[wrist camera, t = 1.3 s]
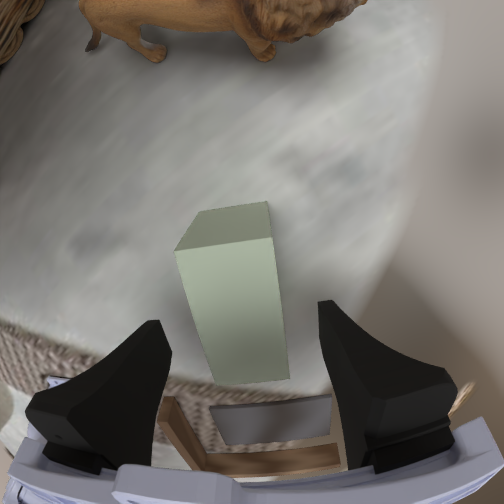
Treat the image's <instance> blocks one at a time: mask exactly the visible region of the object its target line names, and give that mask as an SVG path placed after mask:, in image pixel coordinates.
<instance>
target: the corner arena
mask: <svg viewBox="0 0 504 504" xmlns="http://www.w3.org/2000/svg"><path fill="white" fill-rule="evenodd" d="M331 406H332V395H331V394H327V395H321V396H315V397H308V398H301V399H294V400H286V401H277V402H267V403H256V404H243V405H226V406H210V407H209V410H210V412H211V415H212V417H213V419H214V421H215V423H216V425H217V428H218V430H219V432H220V434H221V436H222V438H223V440H224V442H225V444H226V445H238V444H257V443H270V442H281V441H290V440H298V439H306V438H313V437H319V436H325V435H329V434H330V422H331ZM157 423H158V424H159V426H160V427H161V428H162V430H163V431H164V433H165V434H166V436H167V437H168V438H169V440H170V441H171V443H172V444H173V445H174V447H175V448H176V449H177V451H178V452H179V453H180V455H181V456H182V457H183V459H184V460H185V461H186V462H187V464H188V465H189V466H190V468H191V469H192V470H195V471H206V472H214V473H219V474H222V475H226V476H229V477H231V478H245V477H266V476H279V475H290V474H299V473H306V472H313V471H320V470H326V469H332V468H337V467H340V465H341V463H340V457H339V452H338V447H337V443H331V444H326V445H320V446H314V447H307V448H299V449H291V450H281V451H270V452H256V453H233V454H207V453H206V452H205V450H204V448H203V447H202V445H201V444H200V442H199V440H198V439H197V437H196V435H195V434H194V432H193V430H192V428H191V427H190V425H189V423H188V422H187V420H186V418H185V416H184V414H183V413H182V411H181V409H180V407H179V405H178V403H177V402H176V400H175V398H174V397H164V398H163V402H162V405H161V409H160V412H159V416H158V419H157Z"/></svg>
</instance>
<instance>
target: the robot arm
mask: <svg viewBox="0 0 504 504" xmlns="http://www.w3.org/2000/svg"><path fill="white" fill-rule="evenodd" d="M318 315H319V339H320V344H321V349H322V354H323V358H324V361H325V364H326V367H327V370H328V373H329V376H330V379H331V382H332V385H333V388H334V391H335V395H336V398H337V402H338V407H339V412H340V417H341V423H342V429H343V435H344V441H345V448H346V456H347V463H348V471H344V472H339V473H334V474H328V475H322V476H315V477H308V478H301V479H292V480H282V481H267V482H244V483H238V482H237V481H235V480H234V479H232V478H231V477H229V476H226V475H222V474H219V473H214V472H206V471H195V470H180V469H169V468H159V467H151V456H152V443H153V434H154V427H155V421H156V415H157V410H158V407H159V403H160V400H161V397H162V393H163V390H164V387H165V384H166V381H167V377H168V374H169V370H170V365H171V358H172V350H171V348H170V346H169V343H168V341H167V338H166V336H165V333H164V331H163V328H162V325H161V323H160V320H148V321H146V322H145V323H144V324H143V325H141V326H140V327H139V328H138V329H137V330H136V331H135V332H134V333H132V334H131V335H130V336H129V337H128V338H127V339H126V340H125V341H124V342H123V343H122V344H120V345H119V346H118V347H117V348H116V349H115V350H113V351H112V352H111V353H110V354H109V355H107V356H106V357H105V358H104V359H102V360H101V361H100V362H98V363H97V364H95V365H94V366H93V367H91V368H90V369H88V370H86V371H85V372H83V373H81V374H79V375H78V376H76V377H74V378H72V379H65V378H57V377H50V376H49V377H48V378H47V381H48V382H49V384H50V387H49V388H48V389H46V390H43V391H40V392H37V393H35V395H34V396H33V398H32V400H31V401H30V403H29V405H28V406H27V408H26V410H25V414H26V417H27V419H28V420H29V424H28V437H25V438H24V440H23V442H22V444H21V445H20V447H19V449H18V451H17V453H16V455H15V457H14V460H13V462H12V464H11V466H10V468H9V470H8V472H7V473H8V475H9V476H10V479H9V481H8V484H7V486H6V492H5V494H4V497H3V500H2V502H3V504H452V503H454V502H456V501H458V500H460V499H462V498H464V497H466V496H467V495H469V494H471V493H473V492H475V491H476V490H478V489H479V488H480V487H481V486H483V485H484V484H485V483H486V482H487V481H488V480H489V479H490V478H492V477H493V476H494V475H495V474H496V473H497V472H498V471H499V470H500V469H501V468H502V467H504V459H503V457H502V455H501V453H500V451H499V449H498V447H497V445H496V443H495V440H494V439H493V437H492V435H491V433H490V431H489V429H488V427H487V425H486V423H485V421H484V419H483V418H482V417H478V418H476V419H474V420H472V421H470V422H468V423H466V424H463V425H461V426H459V427H458V428H456V429H455V430H453V431H452V432H451V431H450V428H449V425H450V419H449V417H448V413H449V411H450V409H451V407H452V405H453V403H454V401H455V399H456V396H457V393H458V391H457V387H456V385H455V383H454V382H453V380H452V378H451V377H450V375H449V374H448V373H447V371H446V370H445V369H444V368H441V367H438V366H434V365H430V364H427V363H423V362H421V361H418V360H415V359H412V358H410V357H408V356H405V355H403V354H401V353H399V352H397V351H395V350H393V349H391V348H389V347H388V346H386V345H384V344H383V343H381V342H380V341H378V340H376V339H375V338H373V337H372V336H371V335H369V334H368V333H367V332H366V331H364V330H363V329H362V328H361V327H359V326H358V325H357V324H356V323H355V322H354V321H353V320H352V319H351V318H350V317H348V316H347V315H346V314H345V313H344V312H343V311H342V310H341V309H340V308H339V306H338V305H337V304H336V303H335V302H334V301H332V300H327V301H321V302H318Z"/></svg>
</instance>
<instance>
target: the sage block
mask: <svg viewBox="0 0 504 504" xmlns="http://www.w3.org/2000/svg"><path fill="white" fill-rule="evenodd" d="M174 254H175V258H176V262H177V265H178V269H179V272H180V276H181V279H182V283H183V286H184V290H185V293H186V296H187V300H188V303H189V306H190V309H191V313H192V316H193V319H194V322H195V325H196V328H197V331H198V334H199V338H200V341H201V344H202V346H203V349H204V352H205V355H206V358H207V361H208V364H209V367H210V370H211V372H212V375H213V378H214V381H215V383H216V385H233V384H246V383H257V382H267V381H276V380H285V379H290V373H289V364H288V356H287V347H286V339H285V331H284V322H283V314H282V306H281V299H280V291H279V283H278V276H277V268H276V261H275V253H274V246H273V239H272V232H271V225H270V218H269V212H268V205H267V201H265V202H258V203H251V204H244V205H238V206H231V207H225V208H219V209H212V210H206V211H200V212H199V213H198V214H197V216H196V217H195V219H194V220H193V222H192V223H191V225H190V227H189V228H188V230H187V231H186V233H185V234H184V236H183V237H182V239H181V241H180V242H179V244H178V245H177V247H176V248H175V250H174Z"/></svg>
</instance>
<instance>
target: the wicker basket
mask: <svg viewBox="0 0 504 504" xmlns="http://www.w3.org/2000/svg"><path fill="white" fill-rule="evenodd" d="M44 2H45V0H0V65H1V64H3V63H5V62H6V61H8V60H9V59H10V58H11V57H12V56H13V55H14V54H15V53H16V52H17V50H18V49H19V47H20V45H21V43H22V40H23V30H22V28H21V27H20V26H21V24H22V23H25V22H28V21H30V20H31V19H33V18H34V17H35V16H36V15H37V14H38V13H39V12H40V10H41V8H42V7H43V5H44Z"/></svg>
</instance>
